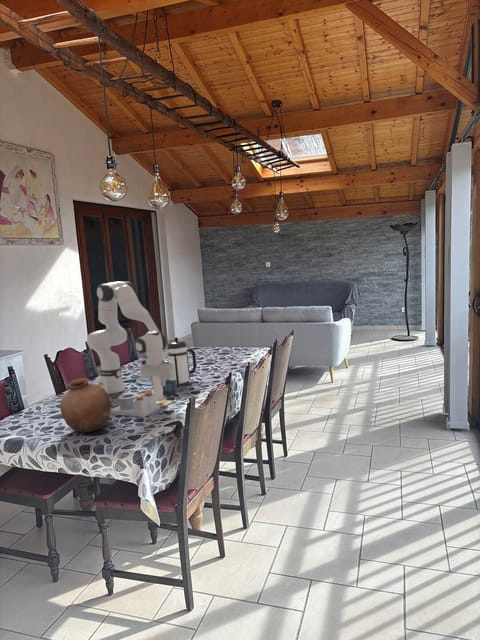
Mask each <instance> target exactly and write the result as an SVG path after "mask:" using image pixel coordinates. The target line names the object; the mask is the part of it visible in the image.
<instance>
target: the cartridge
mask: <svg viewBox="0 0 480 640" xmlns="http://www.w3.org/2000/svg"><path fill="white" fill-rule="evenodd" d="M161 383H162V378H160V377H159V376H153V385H152V386H153V394H155V399H156V401H163V400H164V395H163V386H162V384H161Z"/></svg>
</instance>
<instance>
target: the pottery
mask: <svg viewBox="0 0 480 640" xmlns="http://www.w3.org/2000/svg"><path fill="white" fill-rule="evenodd" d="M89 382H90V379H89V378H87V377H82V378H81V377H80V378H77V379H73V380H72V381H70V382H69V383H68V384H67V387H68V388H69V389H68V390H67V391H66V392H65V393H64V395H63V396H62V398H61V400H60V405H59V407H60V413H61V417H62V418H63V420H64V421H65V423H66V425H67V426H69V428H71V429H72V430H73V431H75V432H77V433H78V432H79V433H90V432H91V433H92V432H95V431H98V430H99V429H101V428H102V427H104V426H106V424H107V422H108V421H109V419H110V418H111V415H112V414H111V410H112V409H111V408H112V406H111V399H110V396H109V394H107V392H106V391H105V390H104V389H103V388H101V387H100V386H97V385H94V384H93V383H89Z"/></svg>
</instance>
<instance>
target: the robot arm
mask: <svg viewBox="0 0 480 640" xmlns="http://www.w3.org/2000/svg"><path fill="white" fill-rule="evenodd" d="M134 288H135V287H134V285H133V283H132V282H131V281H128V280H127V281H126V280H124V281H113V282H107V283H101V284H99V285H98V286H97V287H96V296H97V299H98V317H97V318H98V321H99V322H100V323H101V324H102V325H105V329H102V330H101V329H100V330H95V331H93V332H91V333H89V334H88V335H87V338H86V343H87V346H88V347H89V348H90V349H92V350H94V351H95V352H96V353H97V355H98V358H99V360H100V365H101V366H100V367H101V369H100V370H99V371H98V373H99V376H98V377H97V378H96V379H95V380H94V381H93V382H92V384H94V385H97V386H100V387H101V388H103V389H104V390H105V391H106V392H107V394H108V395H110V394H116V393H120V392H123V391H124V390H126V388H125V384H124V381H123V378H122V367H121V365H120V357H119V356H120V355H119V354H118V353H116V352H113V351H112V350H111V347H114V346H119V345H121V344H123V343H125V342H127V339H128V333H127V330H126V329H124V327H123V326H121V325H120V322H119V320H118V306H119V308H120V310H121V313H122V314H123V316H124V317H126V318H127V319H129V320H135V321H139V322H142V323H143V324H144V325H146V327H147V330H148V331H147V332H146V333H145V334H144V335H142V336H139V337H138V338H137V339H136V340H135V343H134V347H135V351H136V352H137V353H139V354H141V355H146V354H147V355H146V358H145V359H142V360H140V361H139V363H140V367H139V370H140V371H139V372H140V376H141V377H142V378H148V380H149V381H150V383H151V386H153V376H159V377H160V378H162V380H163V382H162V383H161V384H162V386H165V382H166V380H167V378H173V377H174V369H173V364H172V363H171V362H170V361H168V360H165V355H164V351H165V349H166V348H167V345H168V339H167V337H166V335H165V334H164V333H163V332H162V330H161V329H160V327H159V326H158V324H157V322H156V321H155V319H154V317H153V316H152V314H151V313H150V311H149V310H148V309H146V308H145V307H143V305H142V304H141V302H140V300H139V299H138V296H137V294H136V292H135V289H134Z"/></svg>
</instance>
